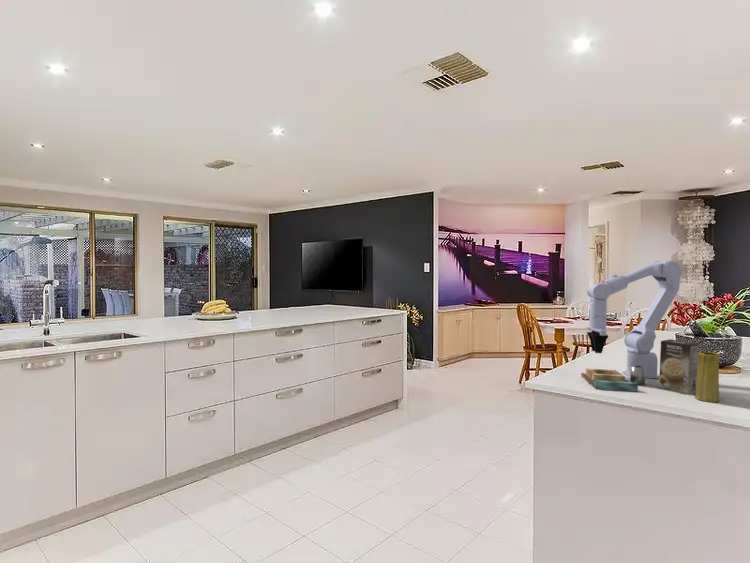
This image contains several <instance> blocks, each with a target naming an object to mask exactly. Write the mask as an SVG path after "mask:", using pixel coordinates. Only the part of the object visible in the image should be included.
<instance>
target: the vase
mask: <svg viewBox="0 0 750 563" xmlns="http://www.w3.org/2000/svg"><path fill="white" fill-rule="evenodd" d="M719 380H720V353H716V352H712V351H698V366H697V381H696V392H695V396H694V398H695V399H696V400H698V401H702V402H706V403H707V402H708V403H718V402H720V382H719Z"/></svg>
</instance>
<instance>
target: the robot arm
mask: <svg viewBox="0 0 750 563" xmlns="http://www.w3.org/2000/svg"><path fill="white" fill-rule="evenodd" d="M681 275H683V270H682V267H681V266H680V264H679V263H678V262H677V261H675V260H661V261H660V260H655V261H653V262H651V263H648V264H645V265H643V266H640V267H639V268H637V269H635V270H633V271H631V272H629V273H627V274H625V275H621V274H616V273H615V274H612V275H611V277H609V278H608V279H605V280H600V281H599V283H593V284H591V285H589V286H590V287H588V290H587V291H586V293H587V295H588V297H589V322H588V323H589V325H588V326H586V327H585V330H589V331H588V332H586V333H587V334H586V335H587V336H588V339H589V341H590V342H589V343H590V346H591V351H592V352H594V353H595V354H602V353H603V352H604V351H603V350H604V347H605V343H606V341H607V339H608V338H609V335H607V329H608V328H607V313H608V312H607V310H608V306H607V305H608V299H609V297H610V296H612V295H614V294H617V293H619V292H621V291H623V290H626V289H627V288H628V286H629V284H631V283H633V282H636V281H638V280H641V279H644V278H647V277H648V276H649V277H651V276H652V278H653V279H654V280H656V282H657V283H658V285H659V287H660V288H659V290H658V291H657V293H656V295H655V297H654V298H653V300H652V302H651V304H650V306H649V307H648V309H647V311H646V312H645V314H644V316H643V318H641V321H640V322H639V324H637V325H635V327H633V328H632V330H631V331H630V332H628V333H627V334H626V335H625V337H624V341H623V342H624V344H625V346H626V347H627V355H626V356H627V358H626V370H622V373H624V374H625V375H627V376H629V377H630V370H631V366H632V365H637V366H643V367H645V379H646V378H648V379H659V377H658V364H659V361H658V355H657V354H656V353H655V352H651V351H652V350H653V348H654V343H655V340H656V338H657V335H656V332H655V331H656V330H657V328H658V325H659V324H660V323H661V321H662V319H663V317H664V316H665V314H666V312H667V311H668V309H669V307H670V305H671V304H672V302H673V301H674V299H675V297H676V296H677V294H678V293H679V290H680V286H681V285H680V284H681Z"/></svg>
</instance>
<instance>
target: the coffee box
mask: <svg viewBox="0 0 750 563" xmlns="http://www.w3.org/2000/svg"><path fill="white" fill-rule="evenodd" d="M699 345H700V344H699V343H696V342H691V341H689V342H688V341H683V340H676V339H665V340H664V339H663V340H661V341H660V350H659V351H660V355H659V359H660V360H659V377H658V389H662V390H666V391H670V392H674V393H678V392H679V393H680V394H682V393H683V394H684V395H687V394H688V395H691V394H694V393H695V394H696V381H697V367H698V352H699ZM679 393H678V394H679Z"/></svg>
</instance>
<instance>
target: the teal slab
mask: <svg viewBox="0 0 750 563" xmlns="http://www.w3.org/2000/svg"><path fill="white" fill-rule="evenodd" d="M580 374H581V378H583V379H584V380H585V381H586V382H587V383H588V382H589V383H590V384H591V385H590V386H591V387H592V388H593V389H595V390H610V391H624V392H638V390H639V386H638V383H635V382H630V380H627V379H626V378H625V382H617V381H598V380H594V381H593V380H592V379H591V378H589V377H588V376H587V375H586V372H585V373H584V372H581V373H580ZM589 383H588V384H589Z"/></svg>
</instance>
